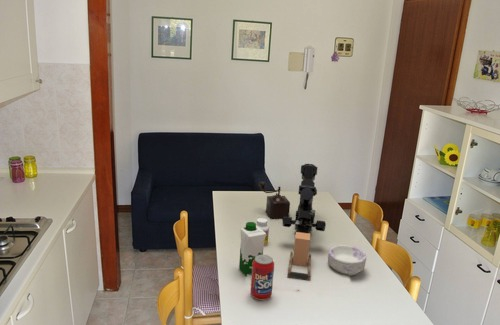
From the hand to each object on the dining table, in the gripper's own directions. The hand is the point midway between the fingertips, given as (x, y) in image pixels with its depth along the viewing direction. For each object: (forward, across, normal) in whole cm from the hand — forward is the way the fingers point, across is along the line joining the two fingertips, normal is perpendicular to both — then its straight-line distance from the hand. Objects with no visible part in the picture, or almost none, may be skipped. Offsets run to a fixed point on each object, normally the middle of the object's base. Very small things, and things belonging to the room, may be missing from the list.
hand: (301, 242), depth 178 cm
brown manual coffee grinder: (-24, -17, +35) cm, 46 cm away
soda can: (+28, -13, -18) cm, 36 cm away
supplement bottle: (+2, -18, +9) cm, 21 cm away
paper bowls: (+9, +19, +1) cm, 21 cm away
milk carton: (+18, -19, -7) cm, 27 cm away
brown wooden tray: (+13, 0, -3) cm, 14 cm away
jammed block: (+9, 0, -1) cm, 9 cm away
